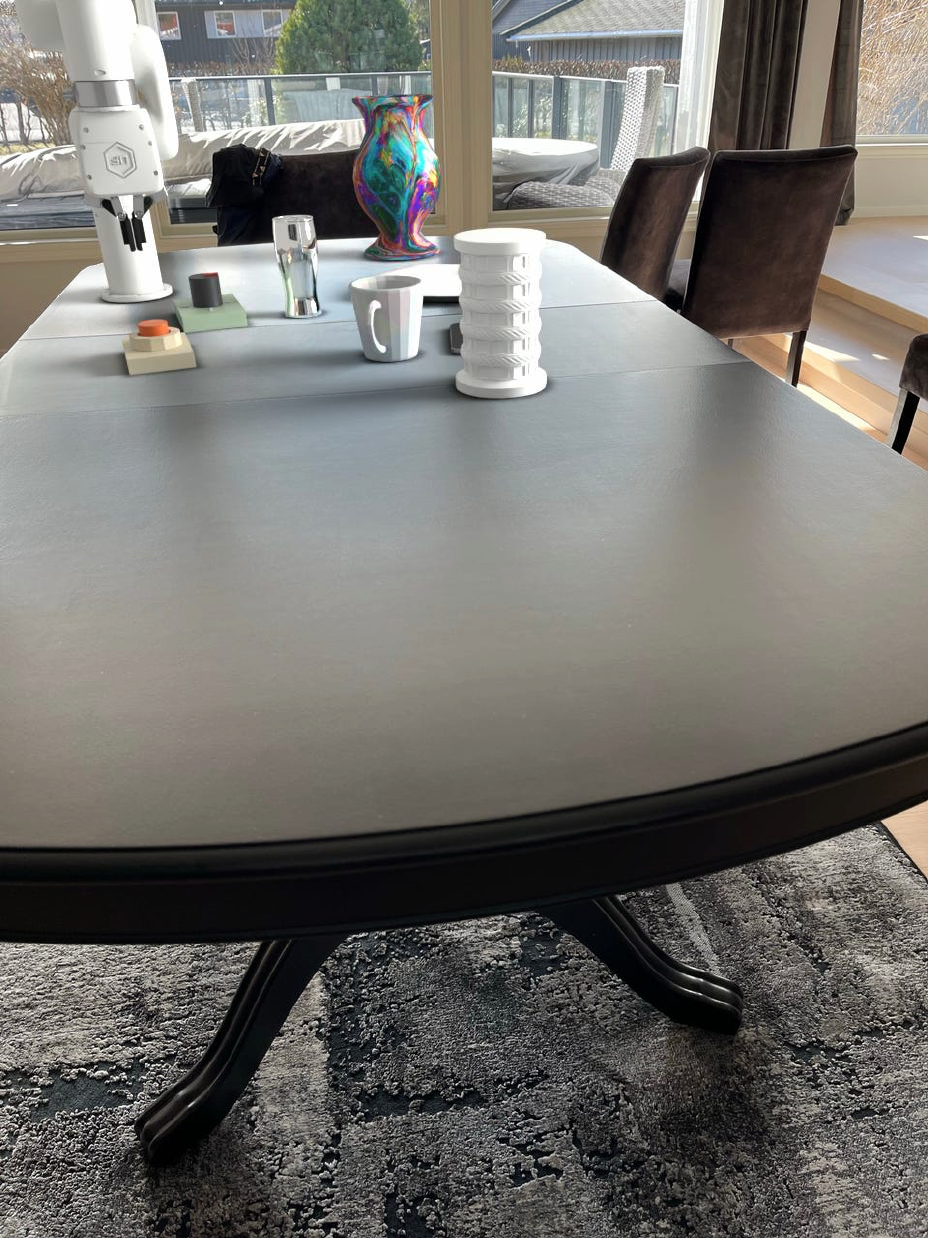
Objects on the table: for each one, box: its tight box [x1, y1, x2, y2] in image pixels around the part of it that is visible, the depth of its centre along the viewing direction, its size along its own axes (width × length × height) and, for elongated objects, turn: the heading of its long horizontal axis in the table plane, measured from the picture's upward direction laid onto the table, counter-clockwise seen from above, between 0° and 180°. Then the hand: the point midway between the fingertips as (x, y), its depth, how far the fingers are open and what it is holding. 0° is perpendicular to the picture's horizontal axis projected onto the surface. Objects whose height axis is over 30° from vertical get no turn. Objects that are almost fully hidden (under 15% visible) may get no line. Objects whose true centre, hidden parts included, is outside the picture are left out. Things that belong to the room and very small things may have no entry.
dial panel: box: [172, 293, 248, 334], centre depth 156 cm, size 14×10×3 cm
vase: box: [350, 93, 442, 261], centre depth 196 cm, size 18×18×30 cm
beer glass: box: [271, 214, 323, 319], centre depth 154 cm, size 7×7×15 cm
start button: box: [137, 319, 169, 337], centre depth 133 cm, size 4×4×2 cm
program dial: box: [187, 272, 223, 308], centre depth 154 cm, size 5×5×5 cm
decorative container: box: [453, 227, 547, 399], centre depth 116 cm, size 12×12×18 cm
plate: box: [374, 263, 462, 303], centre depth 171 cm, size 27×27×2 cm
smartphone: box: [449, 322, 463, 354], centre depth 140 cm, size 8×1×15 cm
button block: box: [121, 326, 197, 376], centre depth 135 cm, size 12×9×4 cm
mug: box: [348, 275, 424, 363], centre depth 130 cm, size 10×15×10 cm
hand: (136, 249), depth 129 cm, fingers closed
